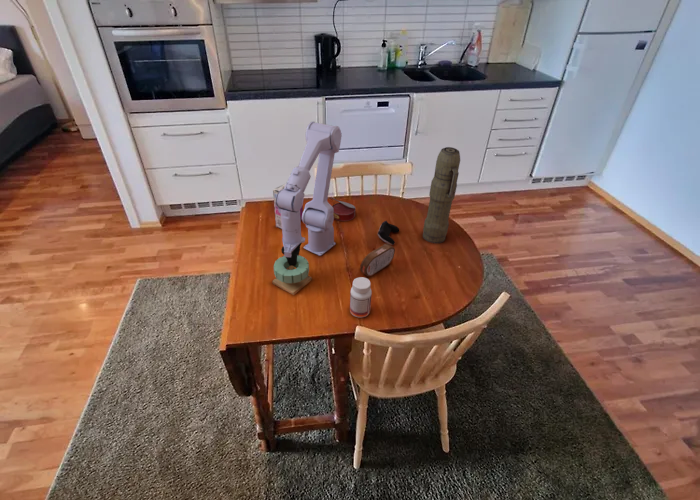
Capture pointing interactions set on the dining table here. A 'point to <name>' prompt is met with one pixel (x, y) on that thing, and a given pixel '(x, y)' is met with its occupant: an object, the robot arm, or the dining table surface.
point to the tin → (377, 259)
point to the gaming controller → (387, 232)
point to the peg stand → (292, 284)
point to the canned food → (343, 211)
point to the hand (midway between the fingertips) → (293, 261)
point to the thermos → (441, 195)
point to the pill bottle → (360, 297)
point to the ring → (291, 275)
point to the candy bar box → (277, 214)
